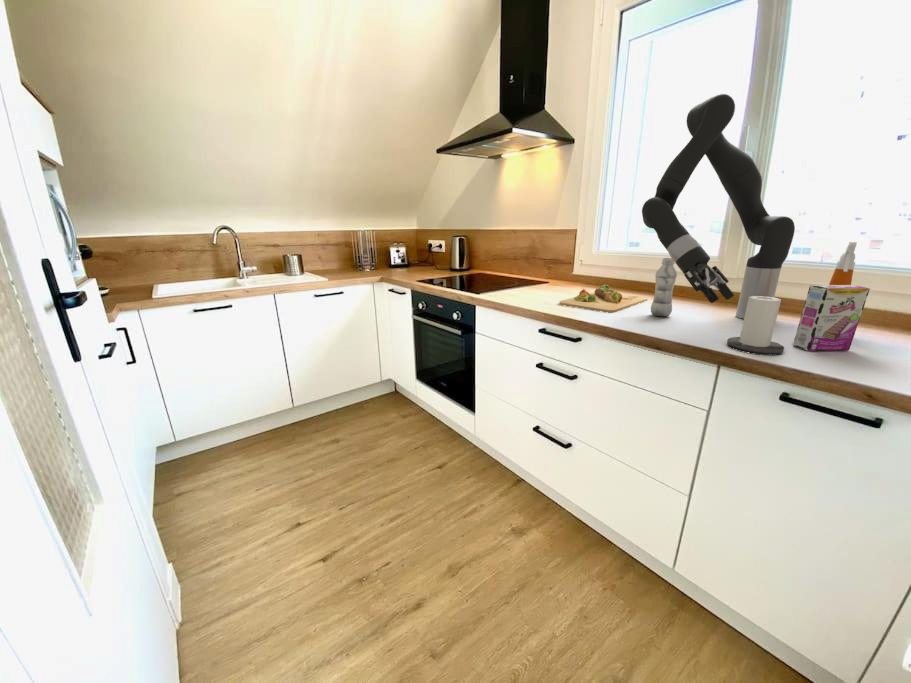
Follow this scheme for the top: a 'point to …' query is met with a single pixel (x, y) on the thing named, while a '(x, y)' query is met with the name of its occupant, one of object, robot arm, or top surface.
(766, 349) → the roll holder
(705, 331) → the top surface
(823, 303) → the candy bar box
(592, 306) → the cutting board
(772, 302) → the paper towel roll
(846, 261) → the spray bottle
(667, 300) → the plastic bottle
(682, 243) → the robot arm
